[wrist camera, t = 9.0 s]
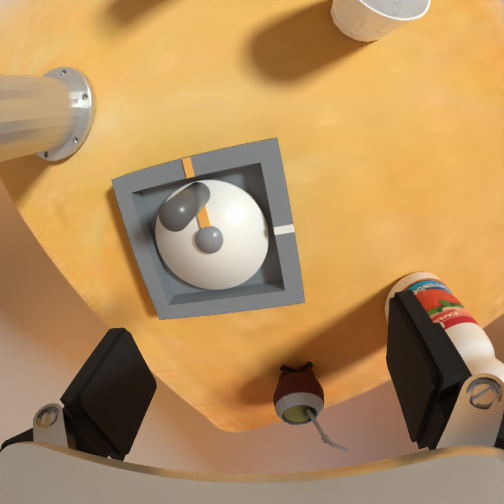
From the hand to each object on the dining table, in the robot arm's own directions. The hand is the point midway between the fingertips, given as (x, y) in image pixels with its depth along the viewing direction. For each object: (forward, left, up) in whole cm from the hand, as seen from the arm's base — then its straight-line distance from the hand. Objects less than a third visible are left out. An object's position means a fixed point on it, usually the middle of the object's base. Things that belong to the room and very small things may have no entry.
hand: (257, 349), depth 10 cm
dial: (-7, -3, -23) cm, 25 cm away
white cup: (+14, +19, -25) cm, 34 cm away
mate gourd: (0, -27, -25) cm, 37 cm away
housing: (-7, -3, -25) cm, 26 cm away
